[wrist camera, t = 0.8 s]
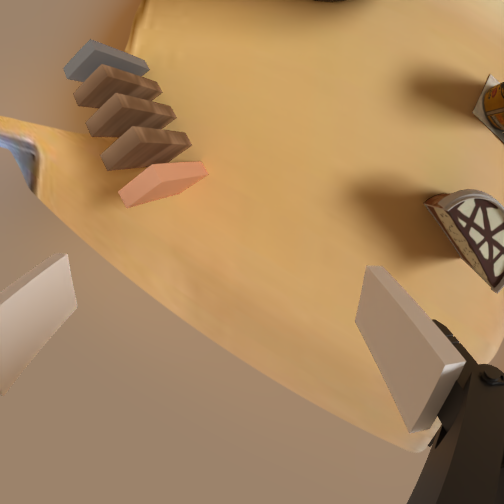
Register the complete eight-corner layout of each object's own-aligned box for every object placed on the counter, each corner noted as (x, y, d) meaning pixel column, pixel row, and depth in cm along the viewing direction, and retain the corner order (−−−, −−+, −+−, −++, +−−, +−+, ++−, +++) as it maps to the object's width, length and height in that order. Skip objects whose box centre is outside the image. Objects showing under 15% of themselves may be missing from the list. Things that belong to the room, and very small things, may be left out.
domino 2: (130, 103, 38) (73, 93, 27) (156, 82, 36) (101, 63, 25) (136, 113, 38) (78, 106, 27) (162, 92, 37) (107, 76, 26)
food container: (496, 236, 31) (534, 259, 22) (466, 266, 34) (498, 297, 24) (448, 162, 31) (485, 164, 22) (416, 194, 33) (444, 206, 24)
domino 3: (143, 127, 39) (85, 122, 28) (170, 106, 37) (115, 92, 26) (149, 138, 39) (91, 136, 28) (176, 117, 37) (122, 107, 26)
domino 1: (119, 81, 38) (63, 68, 26) (144, 60, 36) (90, 39, 25) (124, 91, 38) (67, 79, 27) (149, 69, 36) (95, 49, 25)
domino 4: (157, 153, 39) (100, 155, 28) (185, 132, 38) (132, 126, 27) (163, 165, 40) (107, 170, 29) (192, 145, 38) (140, 142, 27)
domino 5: (172, 181, 40) (117, 191, 29) (201, 161, 38) (152, 164, 27) (179, 193, 40) (126, 208, 29) (208, 174, 39) (161, 182, 27)
